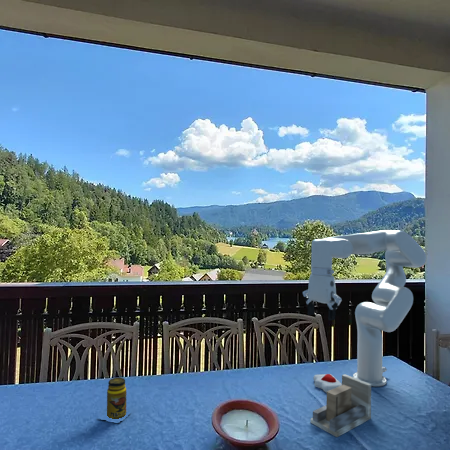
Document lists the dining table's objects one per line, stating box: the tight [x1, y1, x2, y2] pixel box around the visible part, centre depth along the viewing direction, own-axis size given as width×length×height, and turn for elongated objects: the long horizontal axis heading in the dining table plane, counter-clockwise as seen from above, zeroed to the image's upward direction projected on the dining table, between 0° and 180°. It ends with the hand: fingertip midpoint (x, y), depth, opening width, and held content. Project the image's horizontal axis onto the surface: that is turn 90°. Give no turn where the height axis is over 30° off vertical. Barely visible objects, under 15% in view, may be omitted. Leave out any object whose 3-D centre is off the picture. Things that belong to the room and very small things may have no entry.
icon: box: [313, 373, 342, 394], centre depth 143 cm, size 12×4×10 cm
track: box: [309, 373, 372, 438], centre depth 118 cm, size 18×10×11 cm, turn 127°
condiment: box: [106, 376, 127, 419], centre depth 119 cm, size 7×8×12 cm
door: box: [326, 384, 352, 422], centre depth 117 cm, size 9×3×9 cm, turn 128°
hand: (321, 317), depth 138 cm, fingers open, 9 cm apart
